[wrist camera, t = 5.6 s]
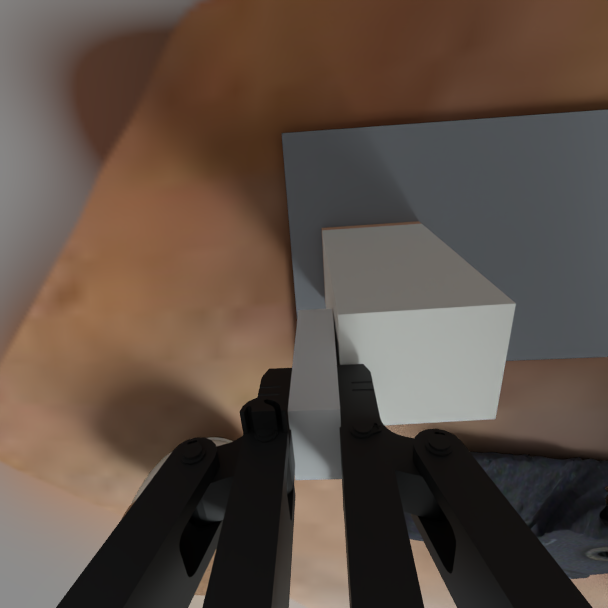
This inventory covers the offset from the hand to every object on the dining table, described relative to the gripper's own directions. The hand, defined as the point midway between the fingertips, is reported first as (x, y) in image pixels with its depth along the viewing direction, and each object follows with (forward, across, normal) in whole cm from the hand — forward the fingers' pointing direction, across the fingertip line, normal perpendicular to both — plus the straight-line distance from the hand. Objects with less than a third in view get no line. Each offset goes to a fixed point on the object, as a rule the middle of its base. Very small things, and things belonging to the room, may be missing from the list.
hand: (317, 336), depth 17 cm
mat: (+10, -9, 0) cm, 14 cm away
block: (+9, -3, 0) cm, 10 cm away
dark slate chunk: (+10, -18, +24) cm, 31 cm away
